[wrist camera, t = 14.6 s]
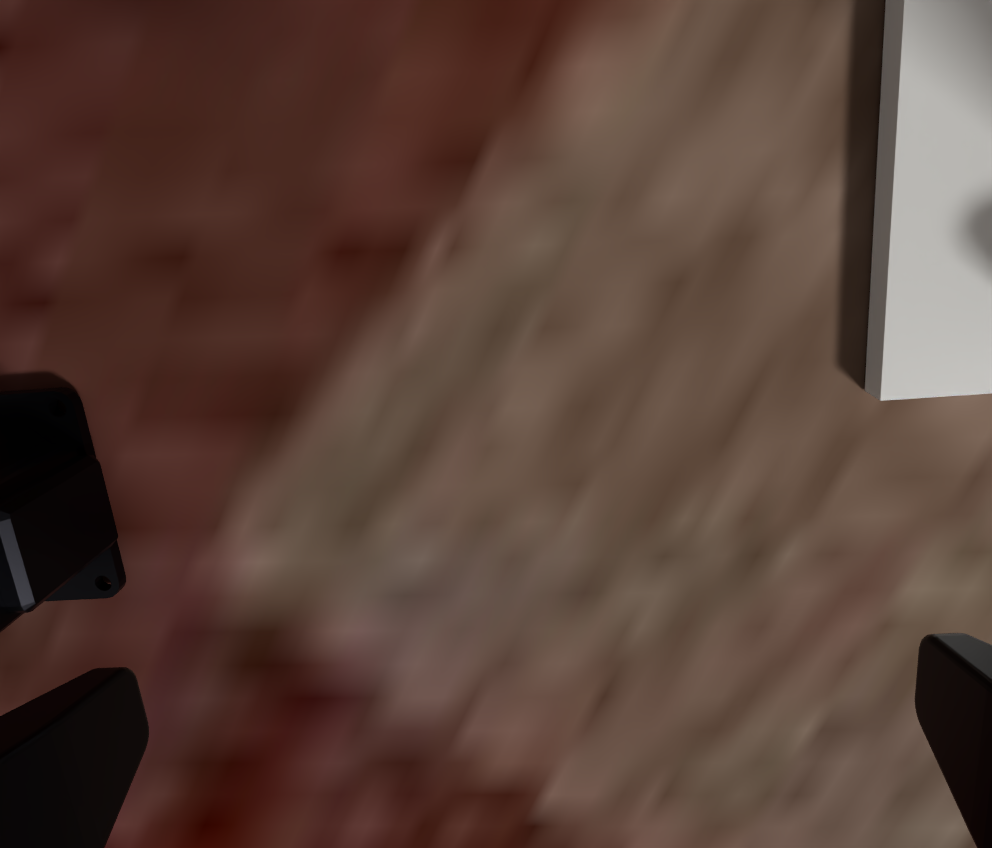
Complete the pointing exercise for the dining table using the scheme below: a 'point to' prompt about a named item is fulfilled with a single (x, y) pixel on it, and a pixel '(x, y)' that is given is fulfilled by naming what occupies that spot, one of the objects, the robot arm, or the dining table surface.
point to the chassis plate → (933, 204)
